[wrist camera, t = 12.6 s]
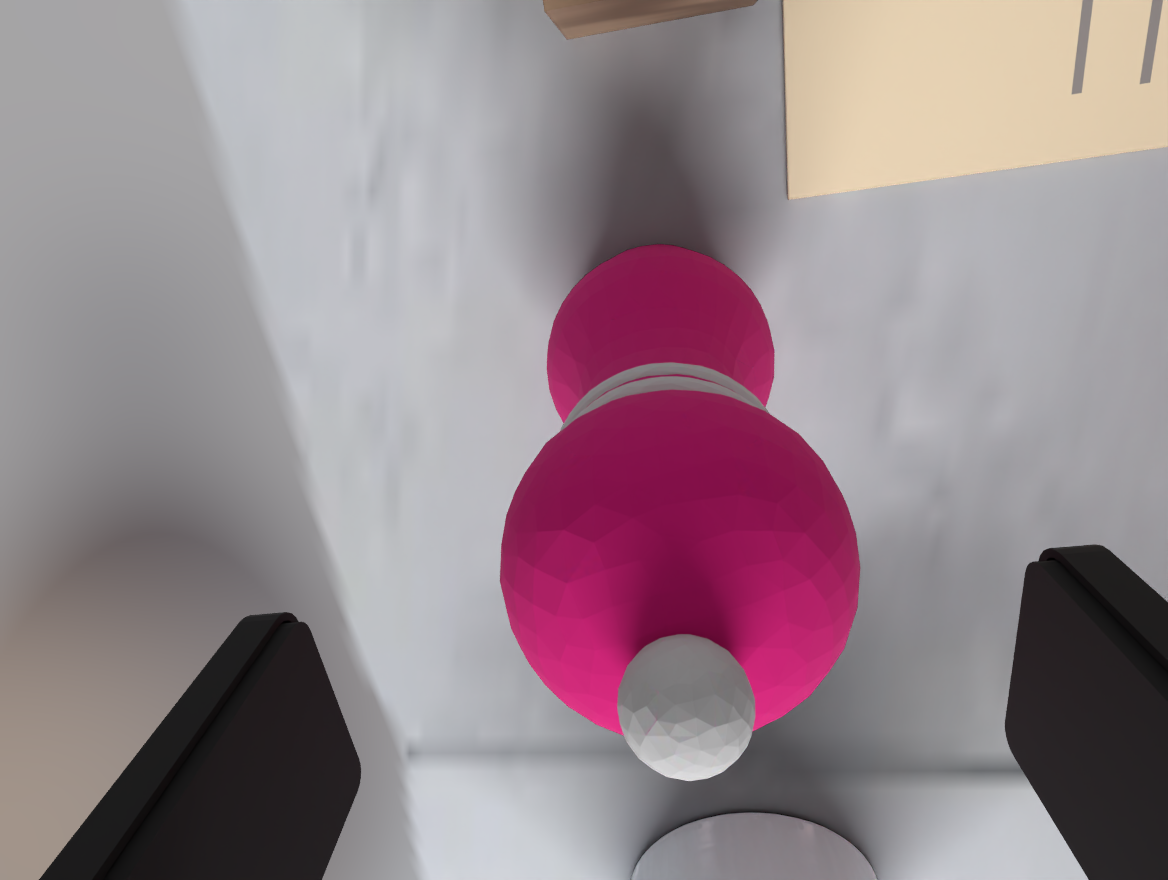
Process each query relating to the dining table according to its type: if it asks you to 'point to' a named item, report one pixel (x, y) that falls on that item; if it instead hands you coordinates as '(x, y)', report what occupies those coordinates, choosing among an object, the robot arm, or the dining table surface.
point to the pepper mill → (675, 520)
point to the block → (627, 13)
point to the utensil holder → (752, 851)
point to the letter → (966, 87)
